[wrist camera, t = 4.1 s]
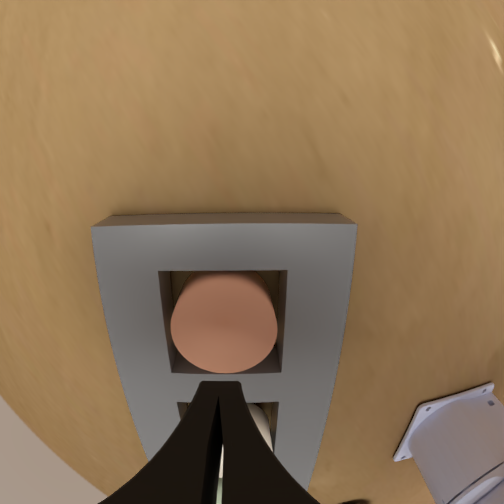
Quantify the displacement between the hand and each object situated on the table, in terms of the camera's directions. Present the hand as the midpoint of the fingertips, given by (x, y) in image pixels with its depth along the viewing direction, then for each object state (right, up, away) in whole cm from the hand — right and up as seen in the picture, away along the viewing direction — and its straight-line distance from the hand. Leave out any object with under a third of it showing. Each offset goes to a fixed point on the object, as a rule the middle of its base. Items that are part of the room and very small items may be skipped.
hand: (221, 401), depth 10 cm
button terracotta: (0, +2, +7) cm, 7 cm away
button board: (0, -5, +9) cm, 11 cm away
